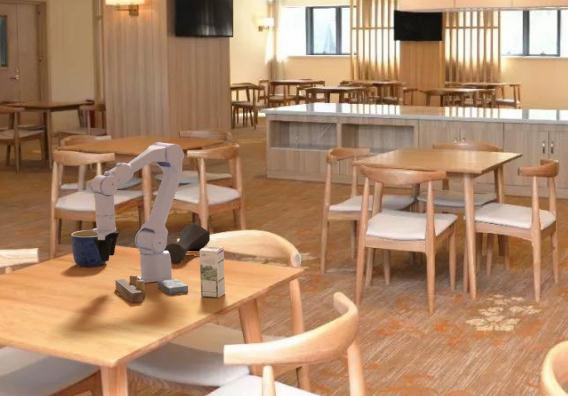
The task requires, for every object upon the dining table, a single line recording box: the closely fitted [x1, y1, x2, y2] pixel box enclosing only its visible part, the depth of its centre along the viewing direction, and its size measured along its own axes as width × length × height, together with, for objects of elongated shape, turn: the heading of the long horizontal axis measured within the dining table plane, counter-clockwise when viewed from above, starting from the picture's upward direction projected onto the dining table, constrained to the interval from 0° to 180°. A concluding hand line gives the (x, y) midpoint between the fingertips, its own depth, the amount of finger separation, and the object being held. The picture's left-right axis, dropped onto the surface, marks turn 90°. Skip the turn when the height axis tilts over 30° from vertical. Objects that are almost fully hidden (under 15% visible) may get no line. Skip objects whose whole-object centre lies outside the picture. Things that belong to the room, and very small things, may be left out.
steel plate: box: [157, 278, 189, 296], centre depth 308 cm, size 6×10×2 cm, turn 26°
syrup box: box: [199, 245, 226, 299], centre depth 299 cm, size 6×6×14 cm
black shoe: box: [164, 223, 211, 265], centre depth 355 cm, size 11×10×28 cm
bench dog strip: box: [114, 274, 146, 304], centre depth 302 cm, size 5×18×5 cm, turn 25°
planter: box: [70, 229, 107, 268], centre depth 343 cm, size 12×12×11 cm
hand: (107, 258), depth 309 cm, fingers open, 7 cm apart
